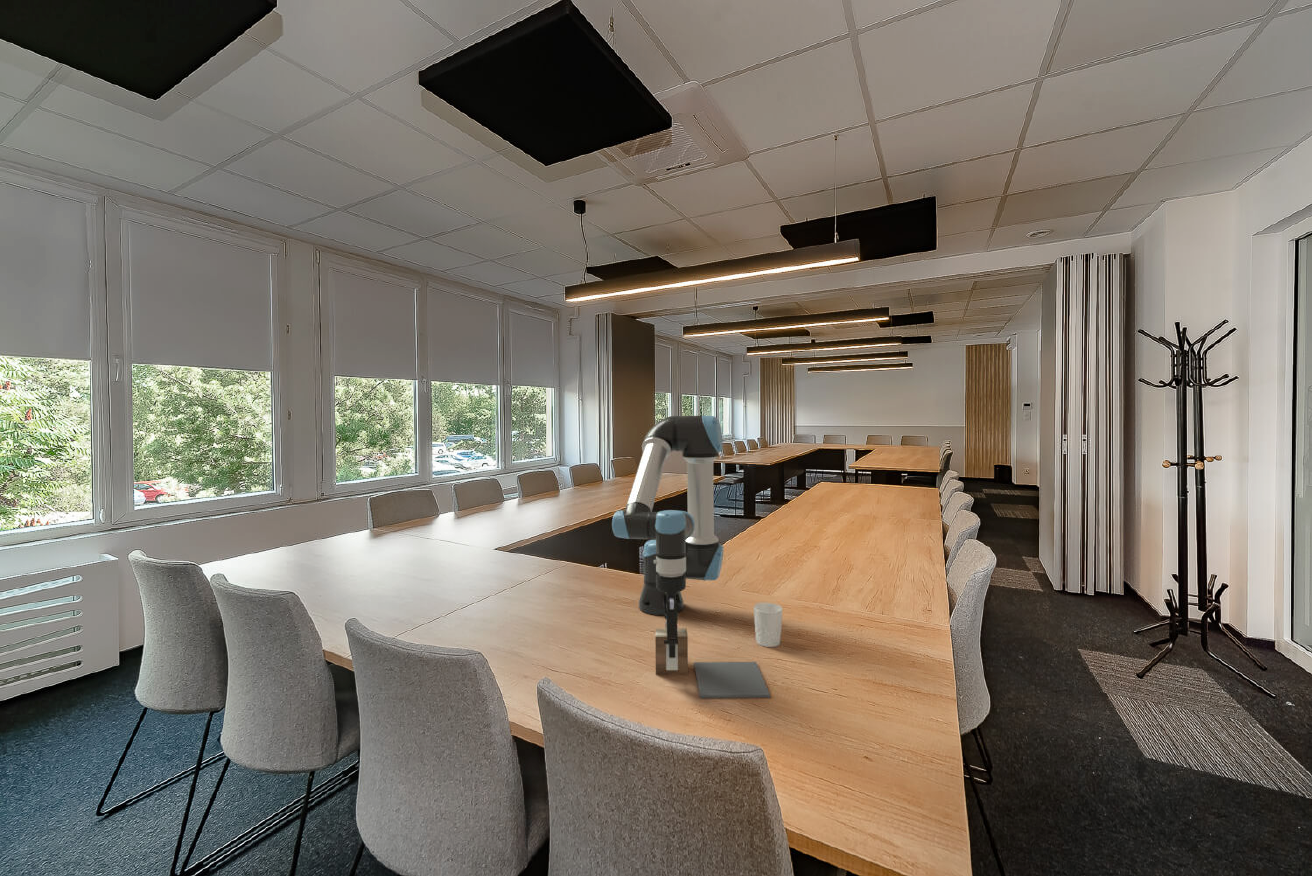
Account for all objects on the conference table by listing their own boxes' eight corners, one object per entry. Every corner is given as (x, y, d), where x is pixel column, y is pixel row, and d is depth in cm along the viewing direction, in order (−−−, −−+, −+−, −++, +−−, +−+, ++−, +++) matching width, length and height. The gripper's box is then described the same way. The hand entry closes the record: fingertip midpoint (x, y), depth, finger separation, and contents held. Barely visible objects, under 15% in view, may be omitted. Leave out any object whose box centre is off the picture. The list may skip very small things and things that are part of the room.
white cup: (761, 650, 140) (761, 614, 140) (749, 638, 148) (749, 604, 148) (787, 646, 142) (787, 611, 142) (773, 635, 150) (773, 601, 150)
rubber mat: (694, 664, 132) (694, 662, 132) (756, 664, 132) (756, 661, 132) (699, 698, 116) (699, 695, 116) (770, 697, 116) (770, 695, 116)
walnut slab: (655, 667, 131) (655, 628, 131) (686, 666, 131) (686, 628, 131) (655, 674, 127) (655, 635, 127) (687, 674, 127) (687, 634, 127)
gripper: (655, 560, 141) (656, 636, 141) (656, 588, 116) (656, 681, 116) (682, 560, 141) (683, 636, 141) (689, 588, 116) (689, 681, 116)
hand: (671, 657), depth 129 cm, fingers open, 13 cm apart
